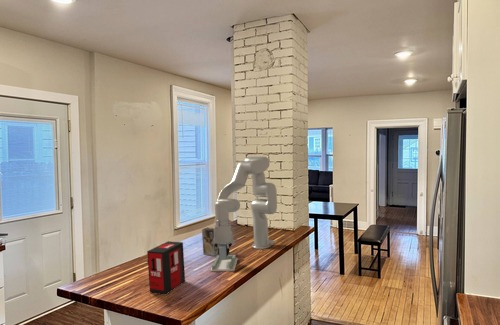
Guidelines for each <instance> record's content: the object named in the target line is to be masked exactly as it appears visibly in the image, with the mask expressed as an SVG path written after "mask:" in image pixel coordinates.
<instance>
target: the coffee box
mask: <svg viewBox="0 0 500 325" xmlns="http://www.w3.org/2000/svg"><path fill="white" fill-rule="evenodd" d="M201 237H202V238H201V240H202V249H203V250H202V251H203V252H202V254H203V255H205V256H213V257H217V255H219V254H218V249H217V247H216V246H215V245H213V244H211V243H212V241H213V239H214V227H205V228H203V229H201ZM217 244H218V243H217Z"/></svg>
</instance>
